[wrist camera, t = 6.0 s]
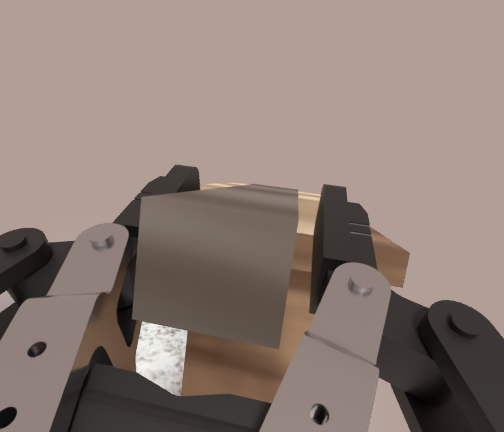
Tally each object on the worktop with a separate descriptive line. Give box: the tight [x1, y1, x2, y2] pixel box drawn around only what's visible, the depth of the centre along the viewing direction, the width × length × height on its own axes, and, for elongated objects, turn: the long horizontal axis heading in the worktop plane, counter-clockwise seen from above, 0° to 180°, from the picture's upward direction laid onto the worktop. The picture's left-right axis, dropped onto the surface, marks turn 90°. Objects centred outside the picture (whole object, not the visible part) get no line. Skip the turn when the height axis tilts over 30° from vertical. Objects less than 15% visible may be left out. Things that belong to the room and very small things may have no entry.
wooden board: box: [132, 183, 321, 349], centre depth 19 cm, size 26×10×2 cm, turn 171°
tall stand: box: [181, 226, 410, 403], centre depth 27 cm, size 14×16×32 cm
